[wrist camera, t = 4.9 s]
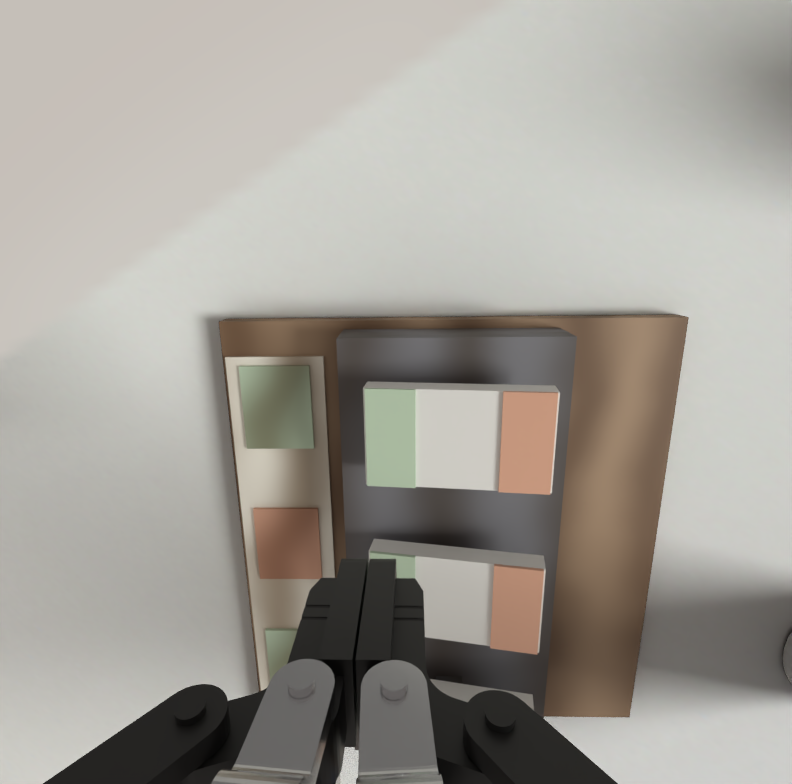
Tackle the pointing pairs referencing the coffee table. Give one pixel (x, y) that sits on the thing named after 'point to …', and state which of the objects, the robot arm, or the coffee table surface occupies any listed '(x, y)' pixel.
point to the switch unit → (461, 508)
